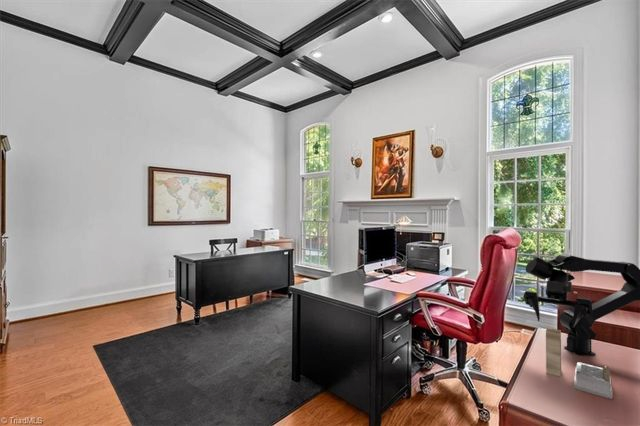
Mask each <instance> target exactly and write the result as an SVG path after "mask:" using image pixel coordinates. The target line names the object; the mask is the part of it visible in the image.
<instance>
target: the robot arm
mask: <svg viewBox="0 0 640 426" xmlns="http://www.w3.org/2000/svg"><path fill="white" fill-rule="evenodd" d="M566 271H568V272H566ZM585 271H596V272H597V271H598V272H608V273H619V274H620V275H621V278H622V279H623V280H624V281H625V283H624V284H623V286H622V288H621V289H620V290H617V291H616V292H614V293H612V294H610V295H608V296H606V297H604V298H602V299H600V300H597V301H595V302H594V303H593V300H591V299H590V298H583V297H576V299H575V300H576V301H574V300H568V293H572V292H573V291H572V289H573V288H572V287H573V283H572V281H573V280H575V276H573V275H572V274H571V273H570V272H572V273H575V272H578V273H579V272H585ZM525 272H526V273H527V274H530V275H532V276H534V277H536V278H537V279H540V280H542V281H543V280H546V279H547V281H546V286H545V296H543V295H542V296H540V295H539V294H538V292H537V291H532V290H531V291H530V290H526V291H525V292H523V299H524V302H525V305H527V306H529V307H530V308H532V309H533V310H534V312H535V316H536V319H537V322H540V320H541V312H540V304H539V303H545V304H552V305H558V306H563V307H569V308H568V309H565V310H562V313H561V314H559V322H560V324H561V325H562V326H563V327H564V329H565V331H567V332H568V333H567V337H566V346H563V348H564V349H565V350H568V351H570V352H572V353H573V354H574V355H577V356H596V355H597V354H596V352H594V351H592V340H595V338H596V336H597V333H596V332H594V331H593V330H592V329H591V328H592V327H593V325H594V323H595V322H596V321H597V320H599V319H601V318H603V317H605V316H607V315H609V314H611V313H613V312H615V311H617V310H620V309H621V308H623V307H625V306H626V307H627V306H628V305H630V304H632V303H634V302H636V301H637V302H638V301H640V268H639V267H638V266H637V265H636V264H635V263H631V262H626V261H611V260H600V259H591V258H583V257H579V256H575V255H571V254H570V255H569V254H565V253H559V254H558V255H557V256H556V257H555V258H553V259H551V260H547V261H545V260H543V259H542V258H540V257H538V256H534V257H533V259H531V260H530V261H529V262H527V264H526V266H525Z"/></svg>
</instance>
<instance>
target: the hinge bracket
mask: <svg viewBox="0 0 640 426" xmlns="http://www.w3.org/2000/svg"><path fill="white" fill-rule="evenodd" d="M574 371H575V373H574V380H573V381H574V382H573V389H575V390H579V391H582V392H586V393H589V394H593V395H596V396H599V397H602V398H607V399H608V400H609V399H610V400H613V389H612V382H611V373H610V366H608V365H605V364H604V365H602V367H599V366H595V365H592V364H591V365H590V364H589V363H583V362H580V361H579V362H578V361H577V363H576V365H575V370H574Z"/></svg>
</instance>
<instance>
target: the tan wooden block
mask: <svg viewBox="0 0 640 426" xmlns="http://www.w3.org/2000/svg"><path fill="white" fill-rule="evenodd" d="M545 373H547V374H550V375H553V376H557V377H561V375H562V330H561V329H556V328H551V327H546V329H545Z"/></svg>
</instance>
